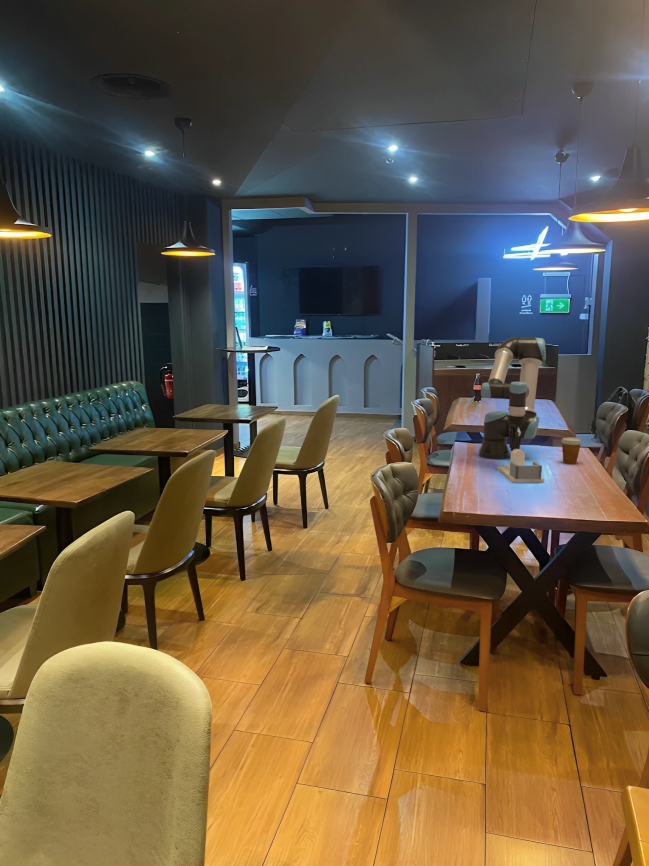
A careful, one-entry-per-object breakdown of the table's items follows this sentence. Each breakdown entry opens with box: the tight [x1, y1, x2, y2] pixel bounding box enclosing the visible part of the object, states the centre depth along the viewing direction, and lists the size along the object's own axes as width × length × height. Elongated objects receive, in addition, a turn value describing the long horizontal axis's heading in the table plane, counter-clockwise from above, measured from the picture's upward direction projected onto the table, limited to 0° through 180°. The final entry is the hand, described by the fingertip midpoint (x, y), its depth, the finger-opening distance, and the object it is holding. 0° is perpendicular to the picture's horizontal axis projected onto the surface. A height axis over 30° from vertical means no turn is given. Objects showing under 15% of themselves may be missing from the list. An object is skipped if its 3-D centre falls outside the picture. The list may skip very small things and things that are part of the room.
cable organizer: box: [506, 449, 526, 469], centre depth 290 cm, size 5×10×10 cm, turn 13°
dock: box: [497, 460, 545, 483], centre depth 287 cm, size 23×14×8 cm, turn 1°
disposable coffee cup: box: [560, 436, 583, 465], centre depth 311 cm, size 10×10×12 cm
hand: (513, 463), depth 296 cm, fingers closed
